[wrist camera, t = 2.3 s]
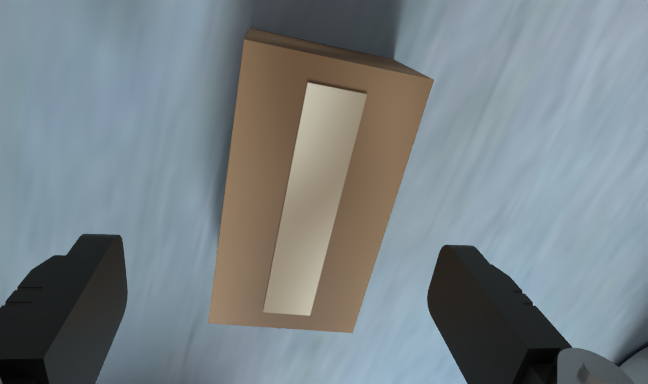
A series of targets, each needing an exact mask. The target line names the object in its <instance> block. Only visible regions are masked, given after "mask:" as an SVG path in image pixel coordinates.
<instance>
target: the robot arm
mask: <svg viewBox="0 0 648 384" xmlns="http://www.w3.org/2000/svg"><path fill="white" fill-rule="evenodd" d="M127 293H128V291H127V279H126V269H125V259H124V249H123V241H122V238H121V236H120V235H107V234H83V235H81V236H80V237H79V239H78V240H77V241H76V243H75V244H74V246H73V247H72V248H71V250H70V251H69V252H68V254H67V255H66V256H61V255H54V256H52V257H51V258H49V259H48V260H46V261H45V262H43V263H41V264H40V265H38V266H37V267H35V268H34V269H32V270H31V271H30V272H29V274H28V275H27V276H26V277H25V279H24V280H23V281H22V282H21V283H20V285H19V286H18V289H17V290H15V291H14V292H13V293H12V294H11V296H10V297H9V298H8V299H7V301H6V304H5V306H2V307H1V308H0V384H95V382H96V380H97V377H98V375H99V373H100V370H101V368H102V366H103V363H104V361H105V358H106V356H107V354H108V351H109V349H110V346H111V344H112V342H113V339H114V337H115V335H116V332H117V330H118V327H119V325H120V323H121V320H122V318H123V315H124V312H125V309H126V303H127ZM427 301H428V308H429V312H430V314H431V316H432V318H433V320H434V322H435V324H436V326H437V328H438V329H439V331H440V333H441V335H442V337H443V339H444V341H445V343H446V344H447V346H448V348H449V350H450V352H451V354H452V356H453V357H454V359H455V361H456V363H457V365H458V367H459V369H460V371H461V372H462V374H463V376H464V378H465V380H466V382H467V384H648V347H646V348H644V349H643V350H641V351H639V352H638V353H636V354H635V355H633V356H632V357H631V358H629V359H628V360H627V361H626V362H624V363H623V364H622V365H621V366H620V367H618V366H617V365H615V364H614V363H612V362H611V361H609V360H608V359H606V358H604V357H602V356H600V355H598V354H596V353H594V352H591V351H588V350H584V349H580V348H572V346H571V345H570V344H569V343H568V342H567V341H566V340H565V338H564V337H563V336H562V335H561V334H560V333H559V332H558V331H557V329H556V328H555V327H554V326H553V325H552V324H551V323H550V322H549V320H548V319H547V318H546V317H545V316H544V315H543V314H542V313H541V311H540V310H539V309H538V308H537V307H536V306H533V302H532V301H531V300H530V299H529V298H528V297H527V296H526V295H525V294H523V293H522V290H521V289H520V288H519V287H518V285H517V284H516V283H515V282H514V281H513V280H512V279H511V278H510V277H509V276H508V275H506V274H505V273H504V272H502V271H501V270H499V269H498V268H496V267H495V266H493V265H490V264H489V262H488V261H487V260H486V259H485V258H484V257H483V255H482V254H481V253H480V252H479V251H478V250H477V248H476V247H474V246H468V245H444V246H443V247H442V248H441V250H440V253H439V256H438V259H437V263H436V266H435V269H434V273H433V276H432V279H431V283H430V286H429V290H428V296H427Z"/></svg>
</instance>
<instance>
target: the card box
mask: <svg viewBox="0 0 648 384" xmlns="http://www.w3.org/2000/svg"><path fill="white" fill-rule="evenodd" d="M433 81H434V80H433V79H431V78H429V77H427V76H425V75H423V74H421V73H419V72H417V71H415V70H413V69H411V68H409V67H407V66H405V65H403V64H401V63H399V62H397V61H395V60H393V59H388V58H384V57H379V56H375V55H370V54H366V53H361V52H356V51H352V50H347V49H343V48H338V47H334V46H329V45H325V44H320V43H316V42H311V41H306V40H302V39H297V38H293V37H288V36H284V35H279V34H275V33H270V32H265V31H261V30H256V29H252V28H250V29H249V31H248V33H247V35H246V37H245V39H244V44H243V52H242V60H241V68H240V76H239V83H238V91H237V99H236V107H235V115H234V123H233V131H232V139H231V147H230V155H229V163H228V171H227V179H226V187H225V194H224V202H223V210H222V218H221V226H220V234H219V242H218V250H217V258H216V266H215V274H214V282H213V290H212V298H211V305H210V313H209V321H208V323H214V324H229V325H244V326H258V327H273V328H288V329H303V330H317V331H332V332H347V333H353V330H354V327H355V323H356V320H357V317H358V314H359V311H360V308H361V305H362V302H363V299H364V295H365V292H366V289H367V286H368V283H369V280H370V277H371V274H372V271H373V267H374V264H375V261H376V258H377V255H378V252H379V249H380V246H381V243H382V239H383V236H384V233H385V230H386V227H387V224H388V221H389V218H390V215H391V211H392V208H393V205H394V202H395V199H396V196H397V193H398V190H399V187H400V183H401V180H402V177H403V174H404V171H405V168H406V165H407V162H408V159H409V155H410V152H411V149H412V146H413V143H414V140H415V137H416V134H417V131H418V127H419V124H420V121H421V118H422V115H423V112H424V109H425V106H426V103H427V99H428V96H429V93H430V90H431V87H432V84H433Z"/></svg>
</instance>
